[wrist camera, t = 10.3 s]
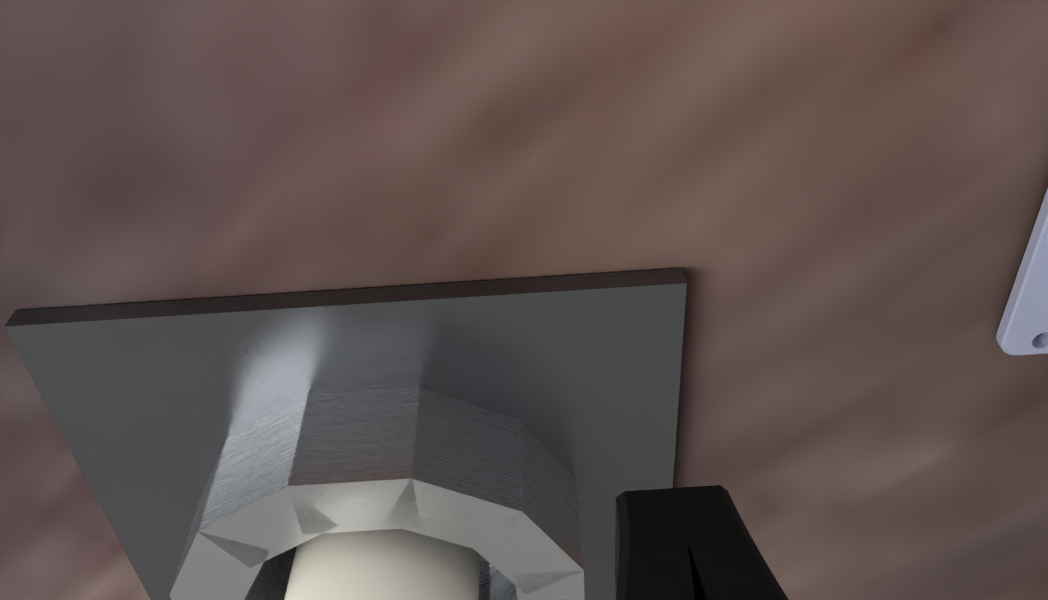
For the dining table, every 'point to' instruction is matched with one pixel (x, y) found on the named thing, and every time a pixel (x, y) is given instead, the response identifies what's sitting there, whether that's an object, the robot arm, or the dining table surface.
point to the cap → (383, 568)
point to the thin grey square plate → (370, 423)
